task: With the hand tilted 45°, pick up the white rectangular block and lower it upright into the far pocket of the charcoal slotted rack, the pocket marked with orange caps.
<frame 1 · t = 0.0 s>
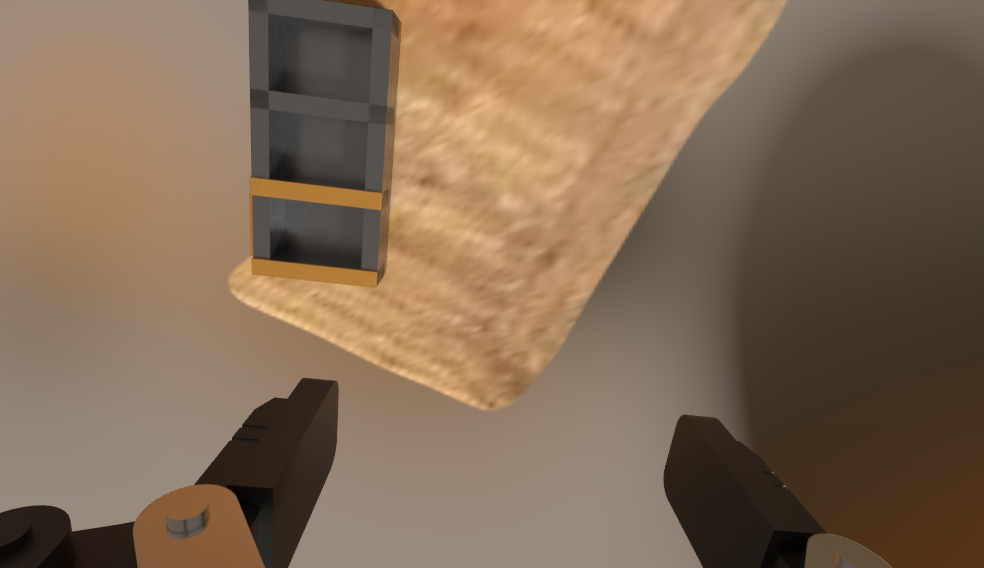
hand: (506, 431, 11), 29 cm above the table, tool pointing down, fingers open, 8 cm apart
slot rack: (333, 149, 37), on the table
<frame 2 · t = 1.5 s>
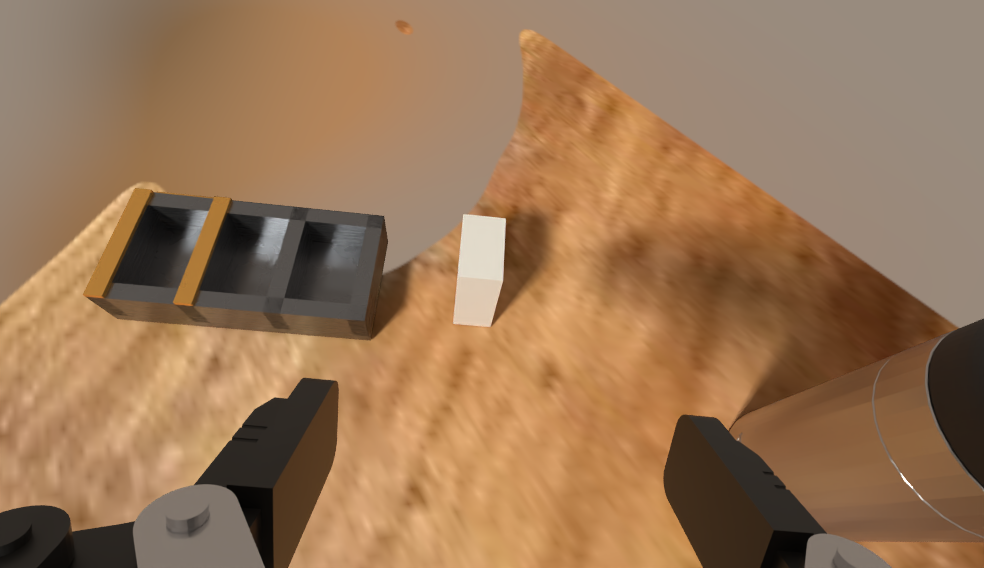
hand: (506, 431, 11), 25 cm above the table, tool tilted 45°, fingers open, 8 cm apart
slot rack: (262, 277, 39), on the table
white rectangular block: (473, 297, 40), on the table
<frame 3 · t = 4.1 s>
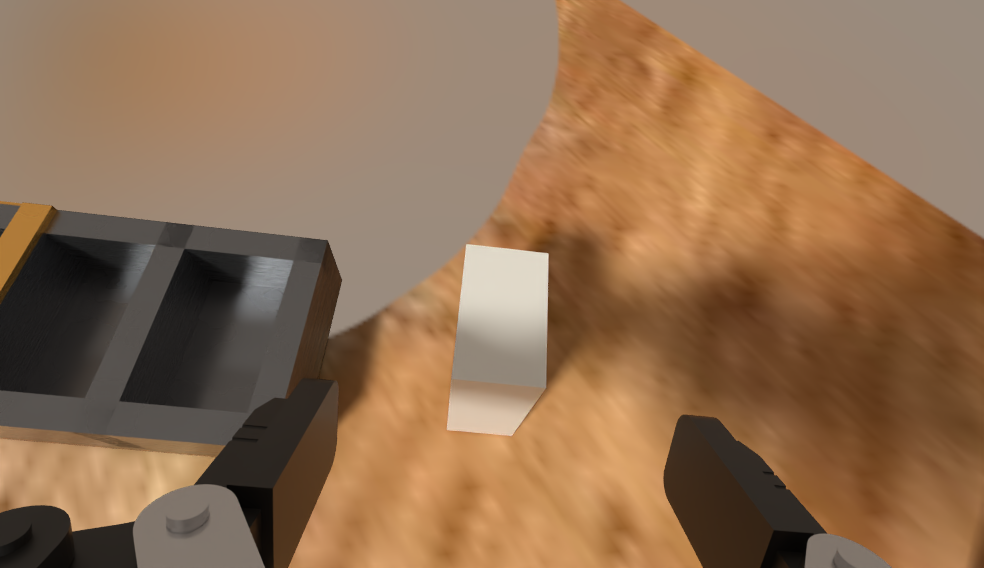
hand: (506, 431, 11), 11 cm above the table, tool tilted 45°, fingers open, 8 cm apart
slot rack: (117, 343, 23), on the table
white rectangular block: (483, 379, 24), on the table
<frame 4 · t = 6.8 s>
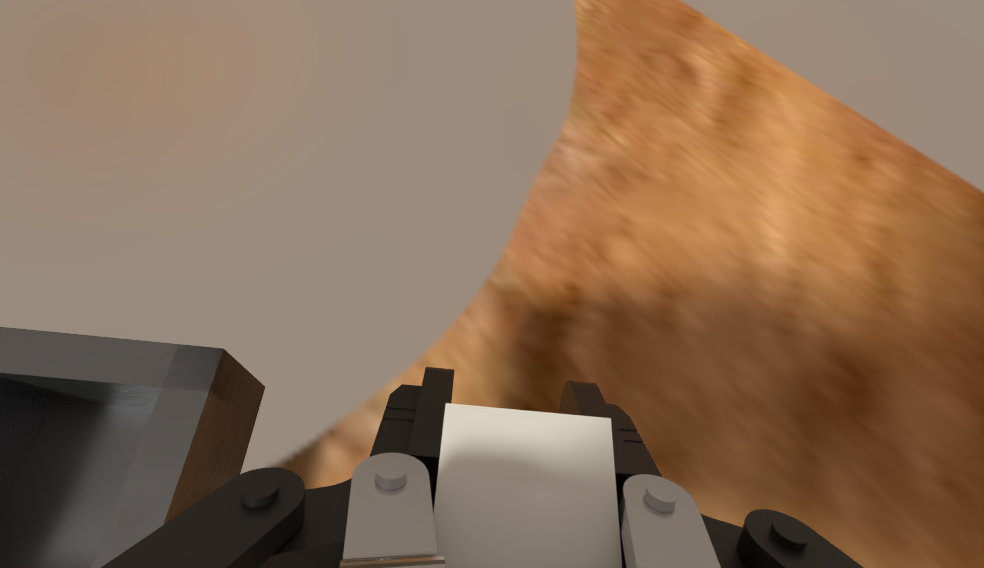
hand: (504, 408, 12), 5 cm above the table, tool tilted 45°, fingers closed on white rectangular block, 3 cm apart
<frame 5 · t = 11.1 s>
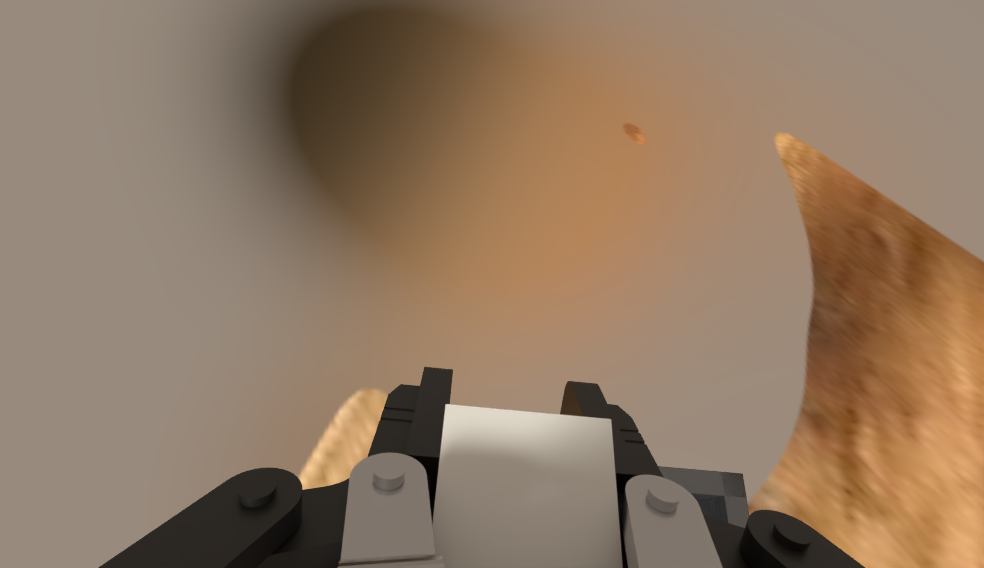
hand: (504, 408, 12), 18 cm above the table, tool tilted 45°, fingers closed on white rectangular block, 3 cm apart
slot rack: (557, 553, 27), on the table
when the fingers open (6 cm above the table, at t = 15.5 s): white rectangular block drops 2 cm, resting on slot rack.
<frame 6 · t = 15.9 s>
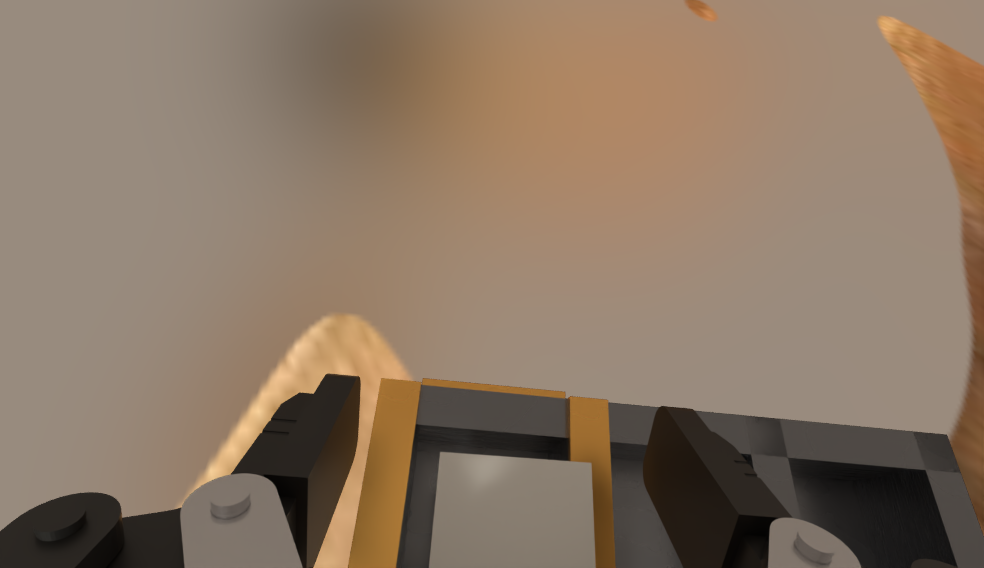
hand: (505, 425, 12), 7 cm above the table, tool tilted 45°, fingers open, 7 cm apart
slot rack: (641, 565, 17), on the table
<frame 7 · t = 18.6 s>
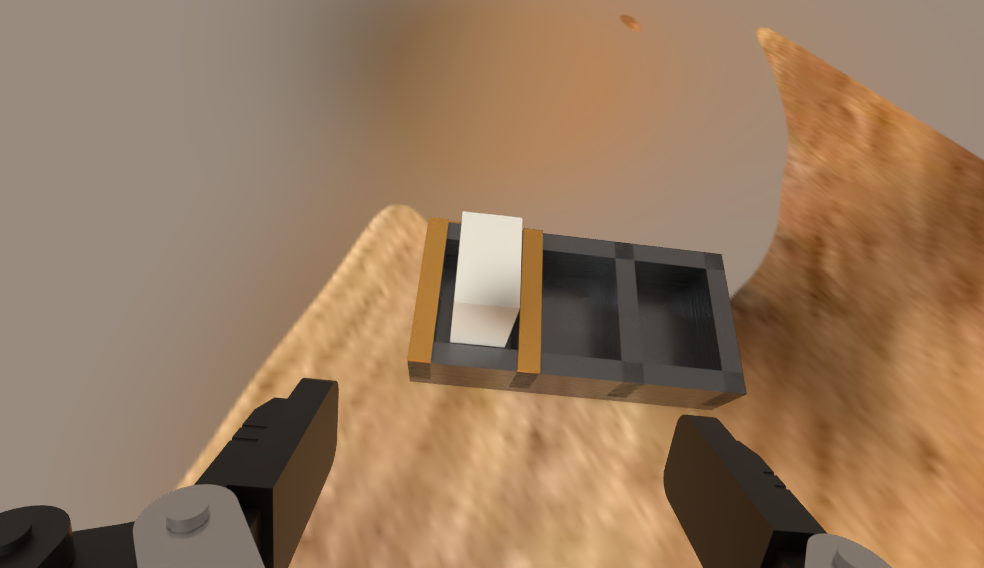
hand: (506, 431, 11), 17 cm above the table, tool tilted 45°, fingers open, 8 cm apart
slot rack: (563, 327, 32), on the table
white rectangular block: (476, 322, 30), point 1 cm above the table, touching slot rack
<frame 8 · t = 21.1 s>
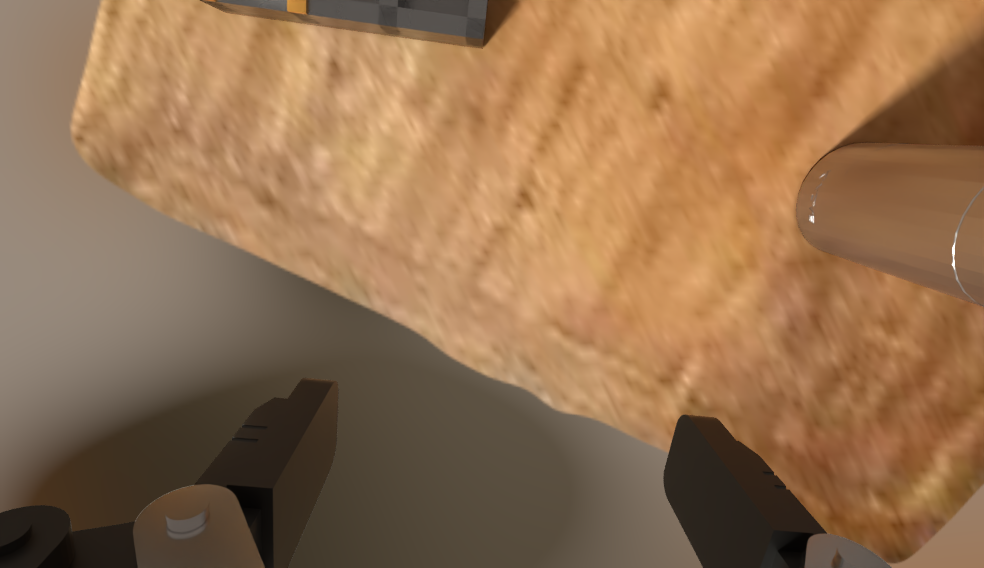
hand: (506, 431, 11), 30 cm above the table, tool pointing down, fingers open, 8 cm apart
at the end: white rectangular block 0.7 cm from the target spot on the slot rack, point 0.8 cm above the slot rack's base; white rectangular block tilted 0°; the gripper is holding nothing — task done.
